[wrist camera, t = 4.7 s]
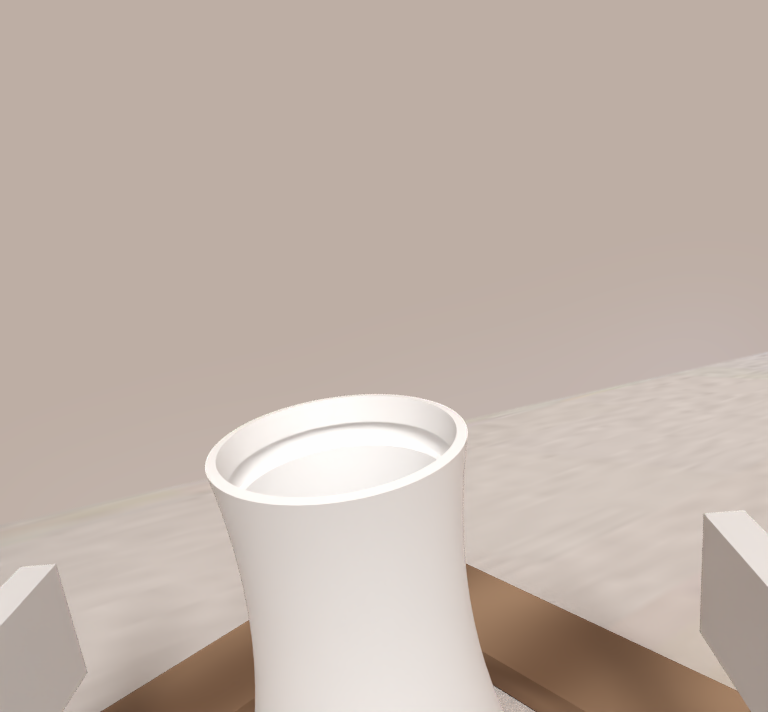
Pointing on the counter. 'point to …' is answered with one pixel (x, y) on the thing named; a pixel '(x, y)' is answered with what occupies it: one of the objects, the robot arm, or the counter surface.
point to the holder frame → (502, 658)
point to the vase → (354, 556)
